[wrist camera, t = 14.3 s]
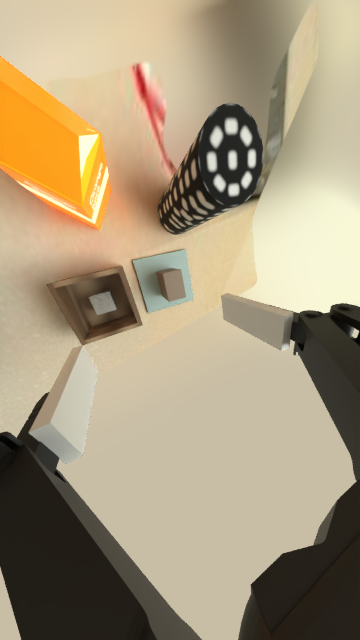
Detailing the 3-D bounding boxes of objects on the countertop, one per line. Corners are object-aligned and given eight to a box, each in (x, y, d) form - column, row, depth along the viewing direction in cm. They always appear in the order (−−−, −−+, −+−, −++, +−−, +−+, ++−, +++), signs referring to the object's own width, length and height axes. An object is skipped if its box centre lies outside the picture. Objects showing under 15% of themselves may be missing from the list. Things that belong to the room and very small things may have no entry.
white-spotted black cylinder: (195, 231, 36) (262, 201, 19) (163, 237, 35) (203, 211, 17) (189, 188, 33) (264, 103, 15) (153, 193, 31) (191, 102, 13)
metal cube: (99, 309, 35) (97, 315, 31) (92, 293, 33) (88, 297, 29) (117, 304, 35) (116, 309, 32) (110, 288, 34) (109, 291, 30)
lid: (147, 311, 40) (153, 322, 33) (132, 260, 34) (134, 259, 27) (191, 298, 43) (205, 306, 36) (184, 249, 37) (198, 246, 30)
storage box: (90, 329, 36) (82, 345, 29) (63, 279, 31) (46, 284, 24) (139, 313, 39) (142, 325, 32) (122, 265, 34) (121, 266, 27)
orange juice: (99, 231, 30) (67, 188, 13) (45, 204, 26) (-109, 88, 9) (111, 190, 29) (93, 77, 11) (56, 155, 25) (-105, -101, 7)
